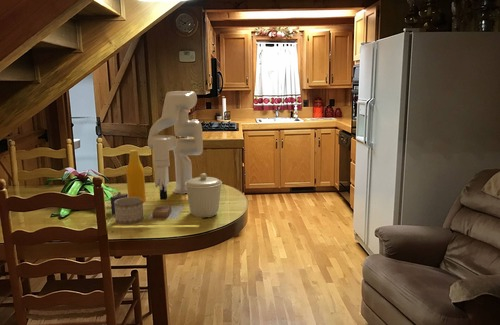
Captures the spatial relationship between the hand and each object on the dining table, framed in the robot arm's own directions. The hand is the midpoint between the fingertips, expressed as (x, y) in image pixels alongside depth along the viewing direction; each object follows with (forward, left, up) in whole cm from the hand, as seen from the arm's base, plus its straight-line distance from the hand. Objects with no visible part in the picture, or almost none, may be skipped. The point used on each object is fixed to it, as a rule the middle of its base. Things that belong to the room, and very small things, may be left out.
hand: (163, 199), depth 200 cm
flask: (-3, -23, -8) cm, 25 cm away
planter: (+11, -14, -8) cm, 19 cm away
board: (0, +1, -8) cm, 8 cm away
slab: (0, 0, -5) cm, 5 cm away
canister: (+2, +20, -8) cm, 22 cm away
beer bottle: (-19, -19, -8) cm, 28 cm away
